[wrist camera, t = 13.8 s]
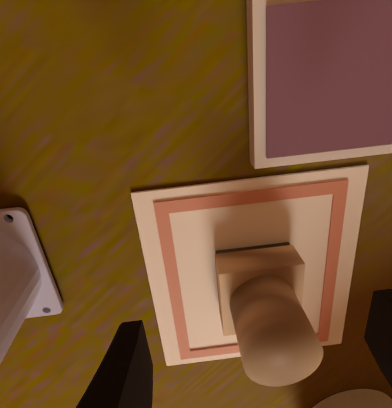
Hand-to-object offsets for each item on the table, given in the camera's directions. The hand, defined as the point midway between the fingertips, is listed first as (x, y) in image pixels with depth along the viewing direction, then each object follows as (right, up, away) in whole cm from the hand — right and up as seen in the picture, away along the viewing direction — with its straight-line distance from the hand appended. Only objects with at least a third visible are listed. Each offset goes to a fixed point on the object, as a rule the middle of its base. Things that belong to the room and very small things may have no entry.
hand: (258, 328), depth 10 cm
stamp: (+2, -1, +11) cm, 12 cm away
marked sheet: (+2, -1, +12) cm, 12 cm away
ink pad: (+5, +10, +6) cm, 13 cm away
